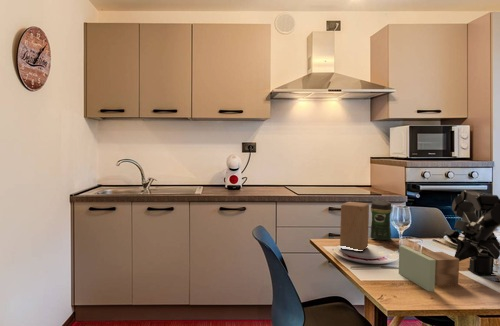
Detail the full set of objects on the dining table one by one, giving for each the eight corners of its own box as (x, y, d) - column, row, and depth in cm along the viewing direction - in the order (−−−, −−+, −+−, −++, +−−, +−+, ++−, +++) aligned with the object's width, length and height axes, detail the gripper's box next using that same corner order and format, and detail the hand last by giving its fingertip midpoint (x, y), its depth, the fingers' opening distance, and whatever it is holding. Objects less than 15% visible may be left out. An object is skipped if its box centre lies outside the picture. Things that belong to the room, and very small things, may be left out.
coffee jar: (391, 238, 174) (393, 200, 173) (389, 242, 167) (391, 203, 166) (371, 235, 179) (372, 199, 178) (368, 239, 172) (369, 201, 171)
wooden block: (362, 253, 149) (363, 206, 148) (339, 249, 154) (340, 204, 153) (368, 247, 157) (369, 203, 156) (346, 244, 163) (347, 201, 162)
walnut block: (441, 275, 125) (442, 251, 125) (458, 284, 117) (459, 259, 117) (420, 276, 124) (421, 252, 123) (436, 285, 116) (437, 260, 115)
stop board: (403, 272, 127) (404, 245, 126) (434, 291, 111) (435, 259, 111) (398, 273, 127) (399, 245, 126) (428, 291, 111) (429, 260, 110)
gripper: (449, 206, 130) (422, 237, 128) (494, 218, 112) (463, 254, 110) (466, 227, 132) (440, 257, 130) (513, 241, 114) (483, 277, 112)
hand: (455, 261), depth 121 cm, fingers closed
